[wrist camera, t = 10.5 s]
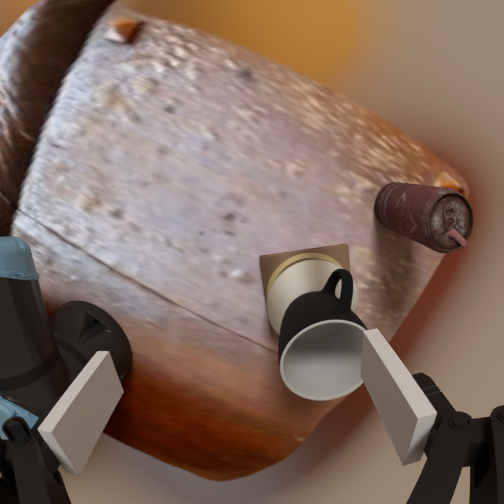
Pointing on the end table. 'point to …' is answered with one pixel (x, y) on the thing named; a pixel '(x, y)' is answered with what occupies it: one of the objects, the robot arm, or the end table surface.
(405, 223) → the can
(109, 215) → the end table surface
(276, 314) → the stand
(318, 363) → the mug
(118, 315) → the end table surface
